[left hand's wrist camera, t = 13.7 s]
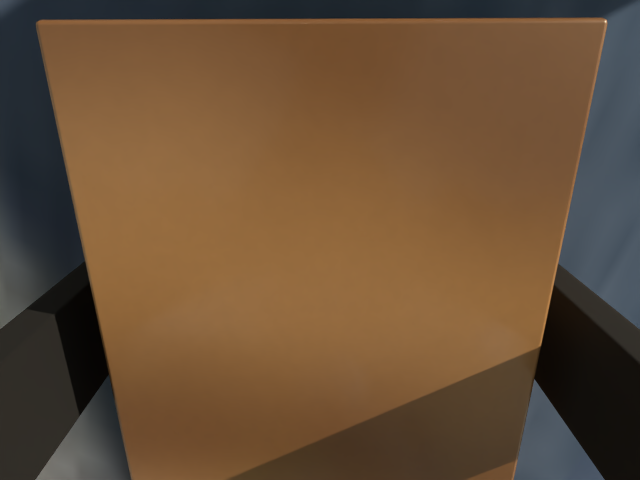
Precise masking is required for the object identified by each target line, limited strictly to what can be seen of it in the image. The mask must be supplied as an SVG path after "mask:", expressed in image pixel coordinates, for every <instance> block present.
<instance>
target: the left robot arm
mask: <svg viewBox="0 0 640 480" xmlns="http://www.w3.org/2000/svg"><path fill="white" fill-rule="evenodd" d="M108 375H109V372H108V367H107V362H106V357H105V353H104V348H103V343H102V338H101V334H100V329H99V324H98V319H97V315H96V310H95V305H94V300H93V296H92V291H91V286H90V281H89V276H88V272H87V267H86V262H83V263H82V264H81V265H80V266H78V267H77V268H76V269H75V270H73V271H72V272H71V273H70V274H68V275H67V276H66V277H65V278H64V279H62V280H61V281H60V282H59V283H57V284H56V285H55V286H54V287H52V288H51V289H50V290H49V291H47V292H46V293H45V294H44V295H42V296H41V297H40V298H39V299H38V300H36V301H35V302H34V303H33V304H31V305H30V306H29V307H28V308H26V309H25V310H24V311H23V312H21V313H20V314H19V315H18V316H16V317H15V318H14V319H13V320H12V321H10V322H9V323H8V324H7V325H5V326H4V327H3V328H2V329H0V480H35V479H36V478H37V476H38V475H39V473H40V472H41V471H42V469H43V468H44V466H45V465H46V463H47V462H48V461H49V459H50V458H51V456H52V455H53V453H54V452H55V451H56V449H57V448H58V446H59V445H60V443H61V442H62V440H63V439H64V438H65V436H66V435H67V433H68V432H69V430H70V429H71V428H72V426H73V425H74V423H75V422H76V420H77V419H78V418H79V416H80V415H81V413H82V412H83V410H84V409H85V408H86V406H87V405H88V403H89V402H90V400H91V399H92V397H93V396H94V395H95V393H96V392H97V390H98V389H99V387H100V386H101V385H102V383H103V382H104V380H105V379H106V377H107V376H108ZM534 379H535V380H536V382H537V383H538V385H539V386H540V387H541V389H542V390H543V392H544V393H545V395H546V396H547V397H548V399H549V400H550V402H551V403H552V405H553V406H554V408H555V409H556V410H557V412H558V413H559V415H560V416H561V418H562V419H563V420H564V422H565V423H566V425H567V426H568V428H569V429H570V430H571V432H572V433H573V435H574V436H575V438H576V439H577V440H578V442H579V443H580V445H581V446H582V448H583V449H584V451H585V452H586V453H587V455H588V456H589V458H590V459H591V461H592V462H593V463H594V465H595V466H596V468H597V469H598V471H599V472H600V473H601V475H602V476H603V478H604V479H605V480H640V329H638V328H637V327H636V326H635V325H633V324H632V323H631V322H630V321H628V320H627V319H626V318H625V317H624V316H622V315H621V314H620V313H619V312H617V311H616V310H615V309H614V308H612V307H611V306H610V305H609V304H607V303H606V302H605V301H604V300H602V299H601V298H600V297H599V296H598V295H596V294H595V293H594V292H593V291H591V290H590V289H589V288H588V287H586V286H585V285H584V284H583V283H581V282H580V281H579V280H578V279H576V278H575V277H574V276H573V275H572V274H570V273H569V272H568V271H567V270H565V269H564V268H563V267H562V266H560V265H559V264H558V266H557V270H556V275H555V280H554V285H553V290H552V295H551V300H550V304H549V309H548V314H547V319H546V324H545V329H544V333H543V338H542V343H541V348H540V353H539V358H538V363H537V367H536V372H535V377H534Z"/></svg>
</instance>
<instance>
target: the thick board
mask: <svg viewBox="0 0 640 480" xmlns="http://www.w3.org/2000/svg"><path fill="white" fill-rule="evenodd" d="M606 28H607V20H606V19H604V18H383V19H121V20H40V21H38V22H36V29H37V34H38V39H39V44H40V48H41V53H42V58H43V63H44V67H45V72H46V77H47V82H48V86H49V91H50V96H51V101H52V105H53V110H54V115H55V120H56V124H57V129H58V134H59V139H60V143H61V148H62V153H63V158H64V162H65V167H66V172H67V177H68V181H69V186H70V191H71V196H72V200H73V205H74V210H75V215H76V219H77V224H78V229H79V234H80V238H81V243H82V248H83V253H84V257H85V262H86V267H87V272H88V276H89V281H90V286H91V291H92V296H93V300H94V305H95V310H96V315H97V319H98V324H99V329H100V334H101V338H102V343H103V348H104V353H105V357H106V362H107V367H108V372H109V376H110V381H111V386H112V391H113V395H114V400H115V405H116V410H117V414H118V419H119V424H120V429H121V433H122V438H123V443H124V448H125V452H126V457H127V462H128V467H129V471H130V476H131V480H513V479H514V474H515V469H516V464H517V460H518V455H519V450H520V445H521V440H522V435H523V431H524V426H525V421H526V416H527V411H528V406H529V401H530V397H531V392H532V387H533V382H534V377H535V372H536V367H537V363H538V358H539V353H540V348H541V343H542V338H543V333H544V329H545V324H546V319H547V314H548V309H549V304H550V300H551V295H552V290H553V285H554V280H555V275H556V270H557V266H558V261H559V256H560V251H561V246H562V241H563V236H564V232H565V227H566V222H567V217H568V212H569V207H570V202H571V198H572V193H573V188H574V183H575V178H576V173H577V169H578V164H579V159H580V154H581V149H582V144H583V139H584V135H585V130H586V125H587V120H588V115H589V110H590V105H591V101H592V96H593V91H594V86H595V81H596V76H597V71H598V67H599V62H600V57H601V52H602V47H603V42H604V38H605V33H606Z"/></svg>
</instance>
